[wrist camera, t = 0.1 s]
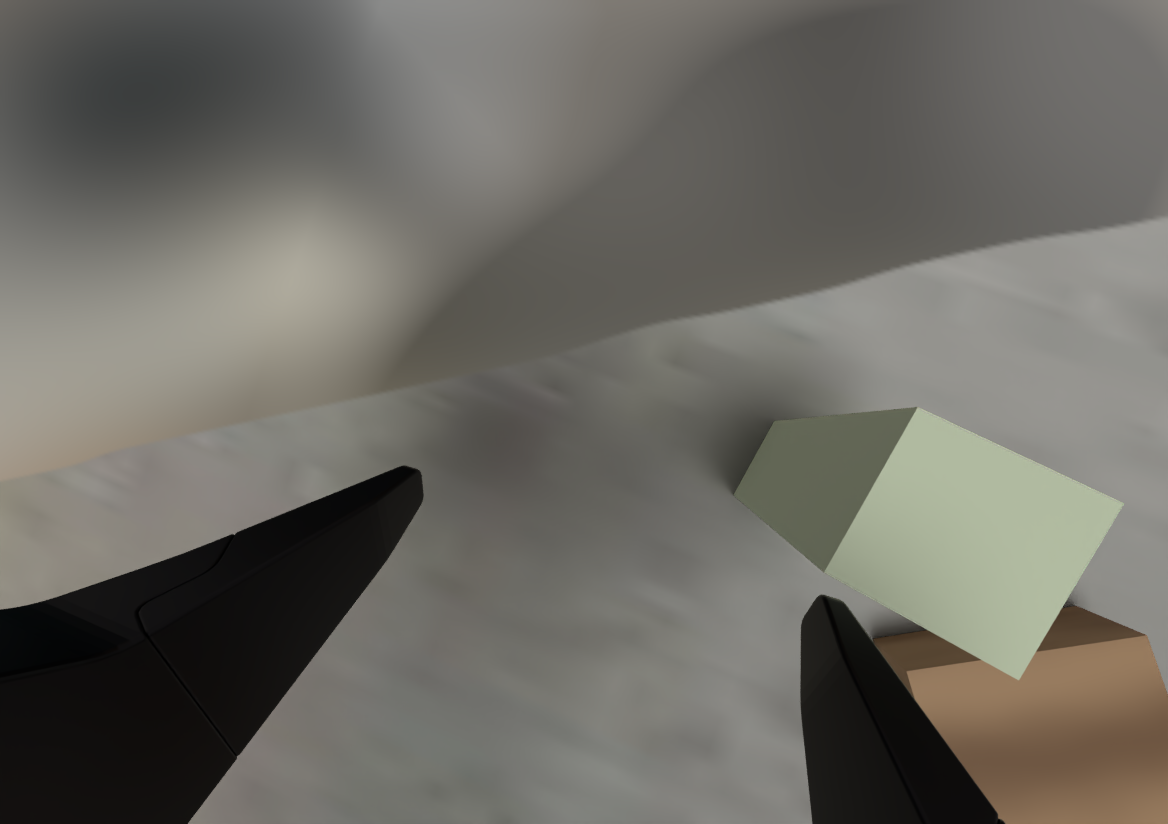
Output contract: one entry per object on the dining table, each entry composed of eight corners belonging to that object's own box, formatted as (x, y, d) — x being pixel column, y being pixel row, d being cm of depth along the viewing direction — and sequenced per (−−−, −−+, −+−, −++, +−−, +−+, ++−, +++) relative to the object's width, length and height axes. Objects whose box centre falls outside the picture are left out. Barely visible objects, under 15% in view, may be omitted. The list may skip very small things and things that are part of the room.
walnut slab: (1143, 806, 20) (1230, 873, 17) (928, 827, 21) (972, 892, 18) (1076, 606, 20) (1146, 635, 17) (873, 638, 22) (906, 671, 19)
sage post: (813, 538, 22) (1018, 680, 10) (733, 495, 23) (824, 572, 10) (856, 462, 22) (1124, 503, 9) (774, 421, 23) (917, 407, 10)
